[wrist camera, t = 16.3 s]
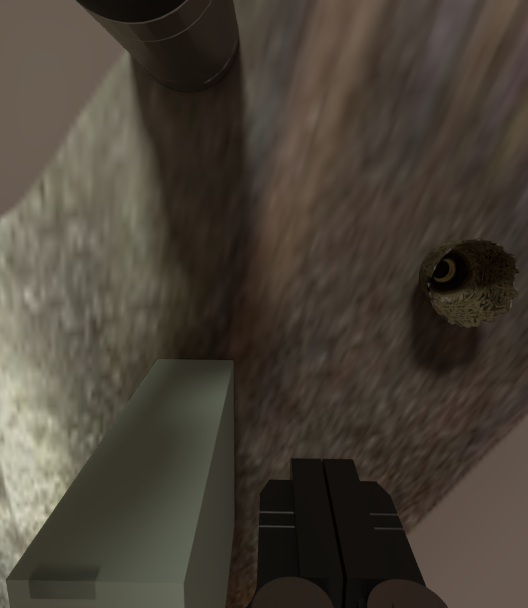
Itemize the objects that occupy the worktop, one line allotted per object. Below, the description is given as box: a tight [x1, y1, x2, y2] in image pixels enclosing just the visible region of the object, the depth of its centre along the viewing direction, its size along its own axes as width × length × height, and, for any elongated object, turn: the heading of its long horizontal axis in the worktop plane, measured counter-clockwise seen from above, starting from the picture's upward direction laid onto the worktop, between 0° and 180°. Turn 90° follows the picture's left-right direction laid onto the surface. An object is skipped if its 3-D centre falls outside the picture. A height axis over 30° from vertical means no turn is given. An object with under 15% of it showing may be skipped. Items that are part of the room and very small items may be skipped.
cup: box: [419, 239, 520, 328], centre depth 41 cm, size 8×7×8 cm
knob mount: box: [6, 359, 235, 608], centre depth 36 cm, size 8×20×28 cm, turn 179°
